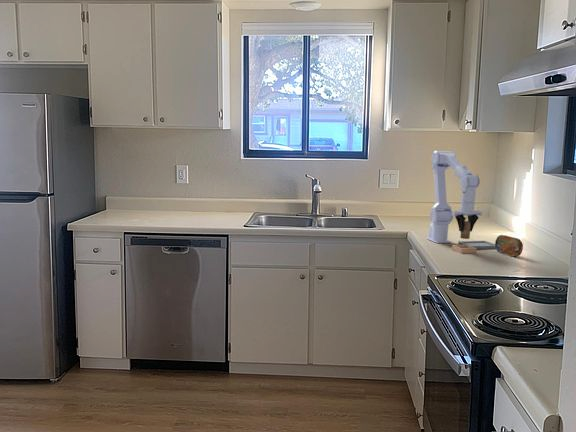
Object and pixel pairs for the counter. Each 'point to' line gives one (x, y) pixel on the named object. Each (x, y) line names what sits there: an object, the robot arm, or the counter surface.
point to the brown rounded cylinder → (466, 230)
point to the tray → (478, 244)
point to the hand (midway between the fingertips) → (465, 231)
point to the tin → (509, 245)
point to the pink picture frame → (464, 248)
